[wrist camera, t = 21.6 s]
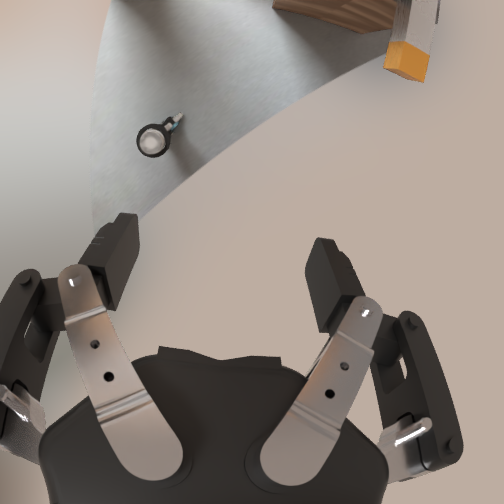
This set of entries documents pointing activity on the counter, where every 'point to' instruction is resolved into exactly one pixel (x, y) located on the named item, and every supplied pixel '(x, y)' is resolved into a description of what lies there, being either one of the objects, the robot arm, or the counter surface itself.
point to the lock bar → (411, 38)
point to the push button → (156, 137)
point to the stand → (348, 12)
